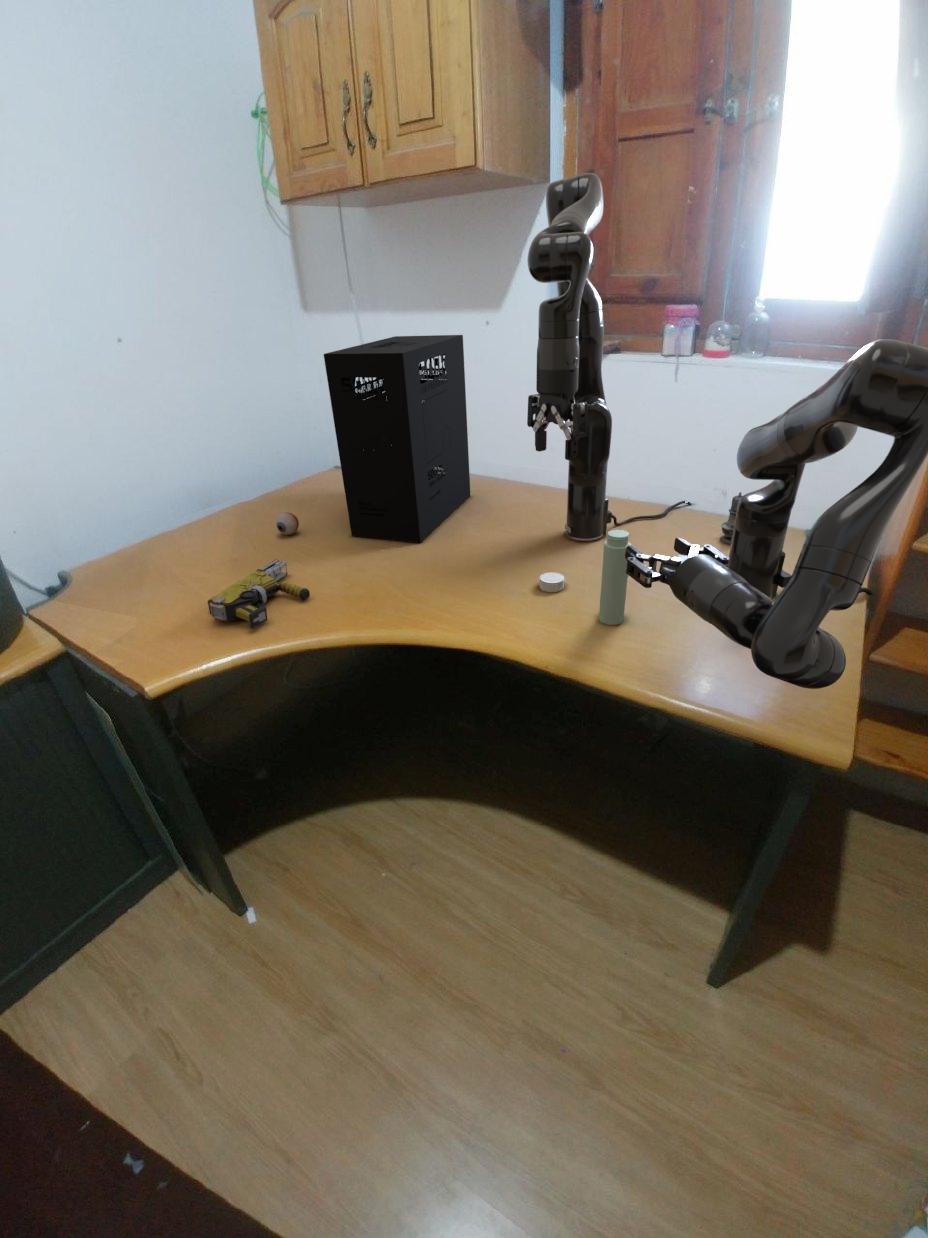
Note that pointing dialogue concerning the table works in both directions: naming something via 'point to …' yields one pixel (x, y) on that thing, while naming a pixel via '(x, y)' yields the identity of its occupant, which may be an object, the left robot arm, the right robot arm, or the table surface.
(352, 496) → the cardboard box
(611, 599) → the jar
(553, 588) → the lid
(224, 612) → the toy gun
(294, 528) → the eyeball
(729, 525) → the salt shaker
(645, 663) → the table surface
